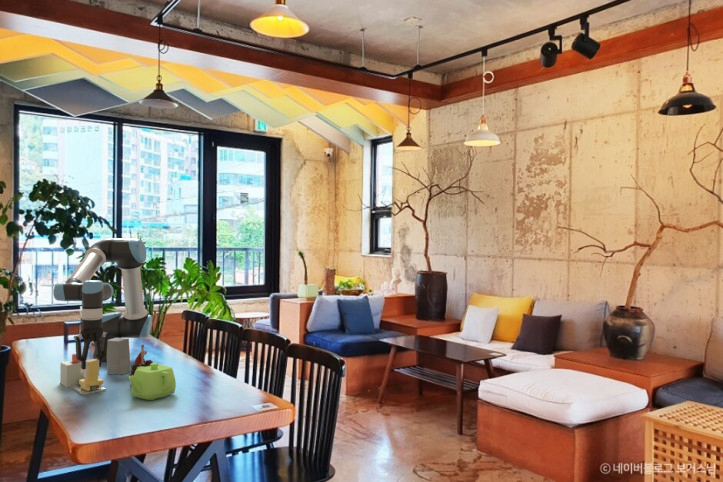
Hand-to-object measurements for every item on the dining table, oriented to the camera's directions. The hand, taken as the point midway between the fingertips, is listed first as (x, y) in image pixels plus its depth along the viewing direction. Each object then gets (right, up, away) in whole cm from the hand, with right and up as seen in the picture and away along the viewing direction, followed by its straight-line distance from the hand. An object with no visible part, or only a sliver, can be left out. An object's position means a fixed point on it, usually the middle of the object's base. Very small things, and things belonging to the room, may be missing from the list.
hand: (91, 376), depth 224 cm
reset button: (-12, +2, +11) cm, 17 cm away
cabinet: (-12, -6, +11) cm, 18 cm away
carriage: (0, -5, 0) cm, 5 cm away
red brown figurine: (+18, -7, +6) cm, 20 cm away
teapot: (+26, -7, -7) cm, 28 cm away
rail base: (-3, -6, +3) cm, 7 cm away
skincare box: (-2, -6, +30) cm, 30 cm away
